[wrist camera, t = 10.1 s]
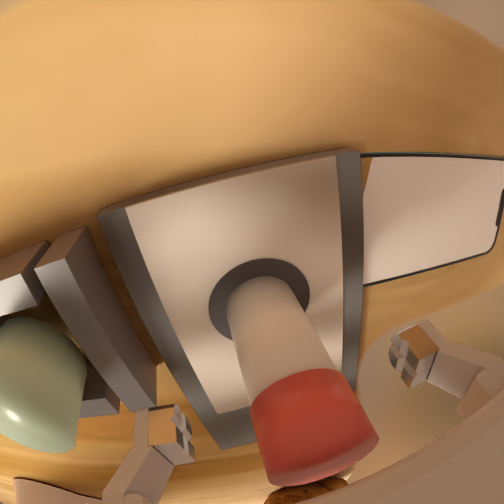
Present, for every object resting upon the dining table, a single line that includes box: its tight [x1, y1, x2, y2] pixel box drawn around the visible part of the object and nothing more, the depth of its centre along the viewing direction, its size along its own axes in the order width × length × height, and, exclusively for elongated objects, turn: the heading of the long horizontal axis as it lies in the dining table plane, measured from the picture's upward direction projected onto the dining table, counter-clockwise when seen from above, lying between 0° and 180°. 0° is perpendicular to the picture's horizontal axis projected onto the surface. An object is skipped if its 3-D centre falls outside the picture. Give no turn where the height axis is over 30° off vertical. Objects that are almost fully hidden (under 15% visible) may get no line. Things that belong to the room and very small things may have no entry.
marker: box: [226, 276, 379, 486], centre depth 10 cm, size 3×3×8 cm
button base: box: [0, 226, 157, 418], centre depth 12 cm, size 9×9×3 cm
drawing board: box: [96, 147, 364, 450], centre depth 16 cm, size 20×11×1 cm, turn 10°
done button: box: [0, 316, 87, 453], centre depth 10 cm, size 5×5×4 cm
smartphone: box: [360, 152, 504, 287], centre depth 16 cm, size 8×1×16 cm
